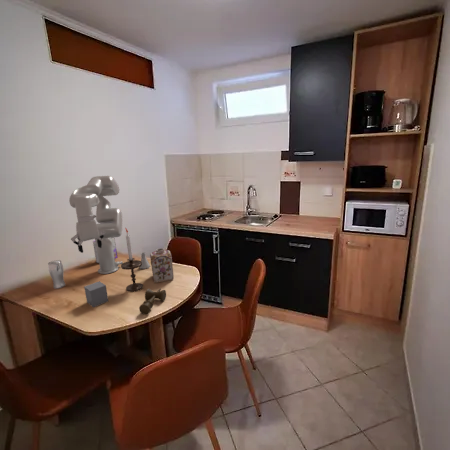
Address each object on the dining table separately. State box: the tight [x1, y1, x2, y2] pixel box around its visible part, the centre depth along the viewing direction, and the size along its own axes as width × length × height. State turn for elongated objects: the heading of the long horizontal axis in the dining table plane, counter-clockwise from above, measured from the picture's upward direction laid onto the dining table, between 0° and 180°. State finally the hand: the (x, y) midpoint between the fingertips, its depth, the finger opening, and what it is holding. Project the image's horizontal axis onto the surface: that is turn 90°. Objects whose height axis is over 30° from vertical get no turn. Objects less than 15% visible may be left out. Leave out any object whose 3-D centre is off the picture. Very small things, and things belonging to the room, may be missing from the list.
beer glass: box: [47, 259, 66, 290], centre depth 158 cm, size 7×7×15 cm
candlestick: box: [120, 227, 144, 293], centre depth 149 cm, size 11×11×35 cm
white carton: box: [92, 237, 119, 264], centre depth 197 cm, size 14×6×16 cm, turn 145°
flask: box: [138, 252, 151, 270], centre depth 182 cm, size 7×7×10 cm
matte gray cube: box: [83, 281, 109, 308], centre depth 139 cm, size 8×8×9 cm
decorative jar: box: [149, 247, 175, 284], centre depth 163 cm, size 12×12×18 cm
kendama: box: [138, 288, 167, 315], centre depth 135 cm, size 6×10×20 cm
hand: (90, 249), depth 149 cm, fingers open, 9 cm apart
